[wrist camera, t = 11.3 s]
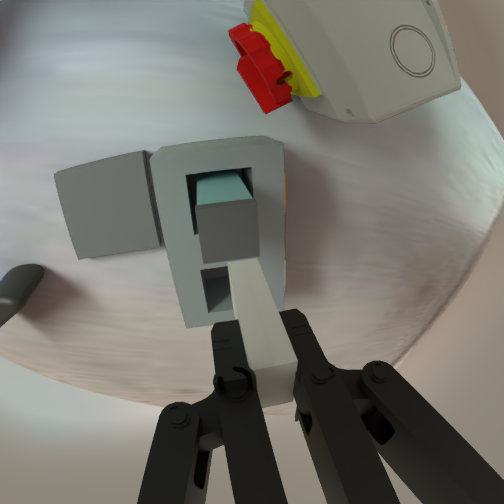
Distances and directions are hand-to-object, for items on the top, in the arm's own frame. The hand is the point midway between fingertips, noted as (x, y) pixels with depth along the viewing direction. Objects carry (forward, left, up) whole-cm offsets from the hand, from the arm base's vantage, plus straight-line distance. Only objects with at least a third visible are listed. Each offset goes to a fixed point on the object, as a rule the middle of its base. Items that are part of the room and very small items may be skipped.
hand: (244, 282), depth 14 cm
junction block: (+5, 0, -21) cm, 21 cm away
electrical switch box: (-16, +9, -21) cm, 28 cm away
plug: (0, 0, -20) cm, 20 cm away
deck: (+1, -14, -21) cm, 25 cm away
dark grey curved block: (+11, -35, -21) cm, 42 cm away
